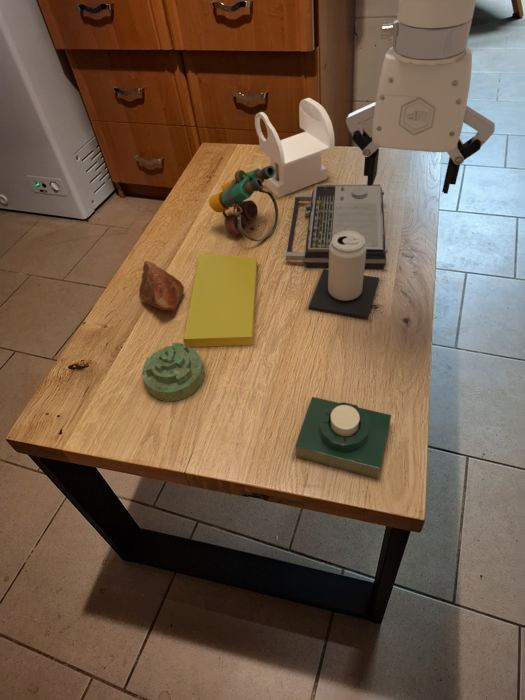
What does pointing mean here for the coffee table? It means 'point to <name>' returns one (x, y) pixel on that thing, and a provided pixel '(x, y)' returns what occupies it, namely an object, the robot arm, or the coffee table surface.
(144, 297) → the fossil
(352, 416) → the cylinder
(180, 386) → the decorative artifact
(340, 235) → the beverage can
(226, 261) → the flat olive board
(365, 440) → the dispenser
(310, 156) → the tape dispenser
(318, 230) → the radio
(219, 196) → the binoculars
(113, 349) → the coffee table surface
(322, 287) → the coaster
